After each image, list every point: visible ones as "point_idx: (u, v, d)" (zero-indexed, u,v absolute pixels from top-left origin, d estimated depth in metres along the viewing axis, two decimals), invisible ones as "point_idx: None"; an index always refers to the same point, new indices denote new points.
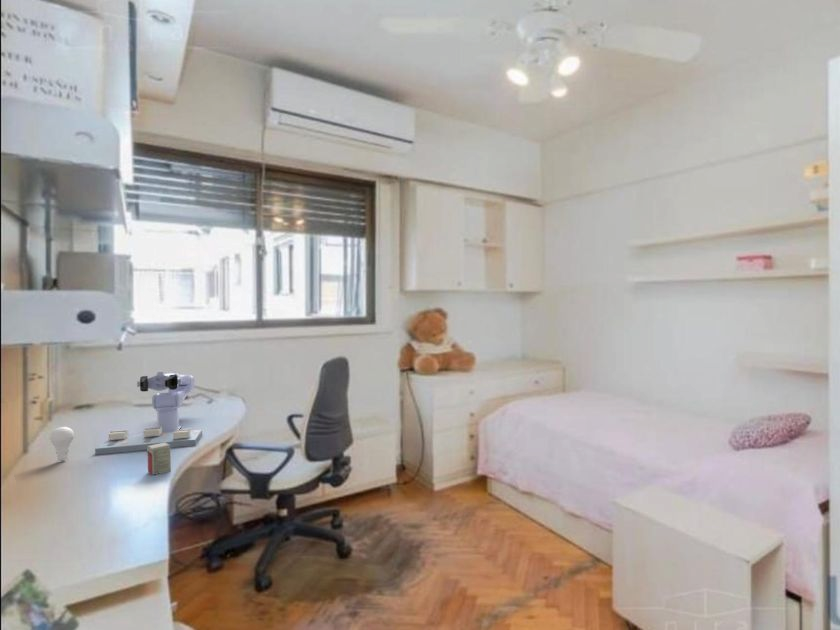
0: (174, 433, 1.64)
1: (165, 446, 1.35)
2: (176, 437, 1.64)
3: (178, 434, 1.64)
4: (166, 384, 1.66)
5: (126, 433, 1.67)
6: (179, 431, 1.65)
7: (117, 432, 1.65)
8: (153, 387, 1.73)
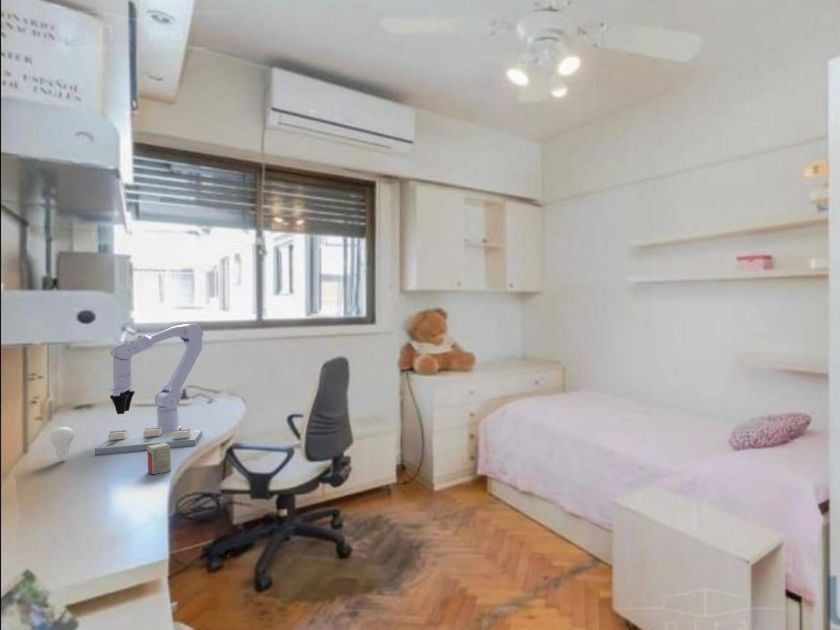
0: (174, 433, 1.64)
1: (165, 446, 1.35)
2: (176, 437, 1.64)
3: (178, 434, 1.64)
4: (122, 413, 1.69)
5: (126, 433, 1.67)
6: (179, 431, 1.65)
7: (117, 432, 1.65)
8: None
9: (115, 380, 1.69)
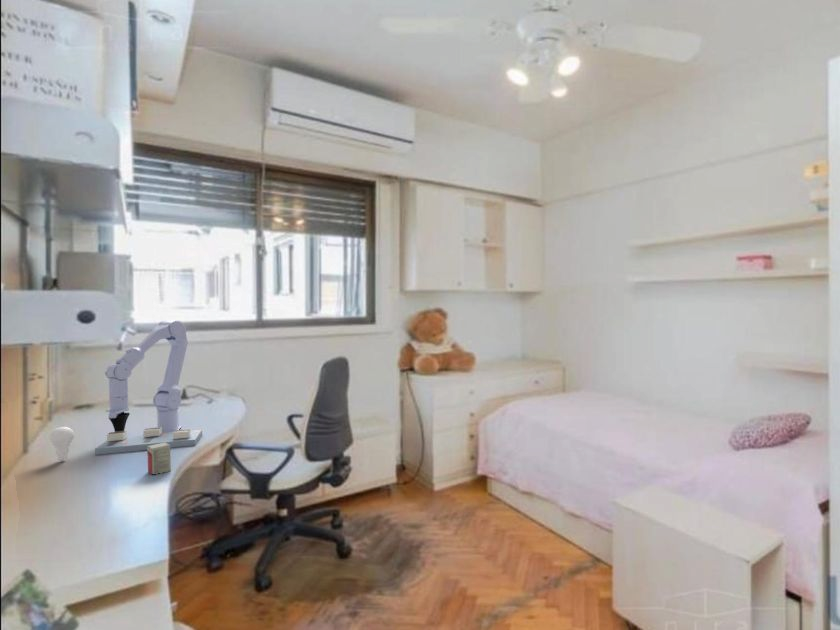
0: (174, 433, 1.64)
1: (165, 446, 1.35)
2: (176, 437, 1.64)
3: (178, 434, 1.64)
4: None
5: (125, 434, 1.66)
6: (179, 431, 1.65)
7: (115, 433, 1.64)
8: None
9: (111, 401, 1.65)
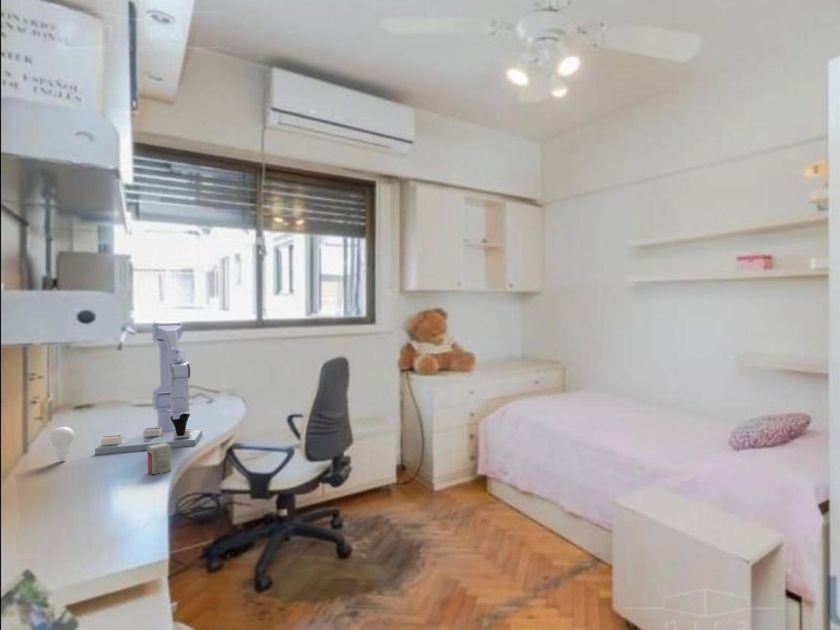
0: (175, 432, 1.65)
1: (165, 446, 1.35)
2: (177, 436, 1.65)
3: None
4: (182, 435, 1.64)
5: (120, 438, 1.60)
6: None
7: (110, 437, 1.59)
8: None
9: (173, 402, 1.61)
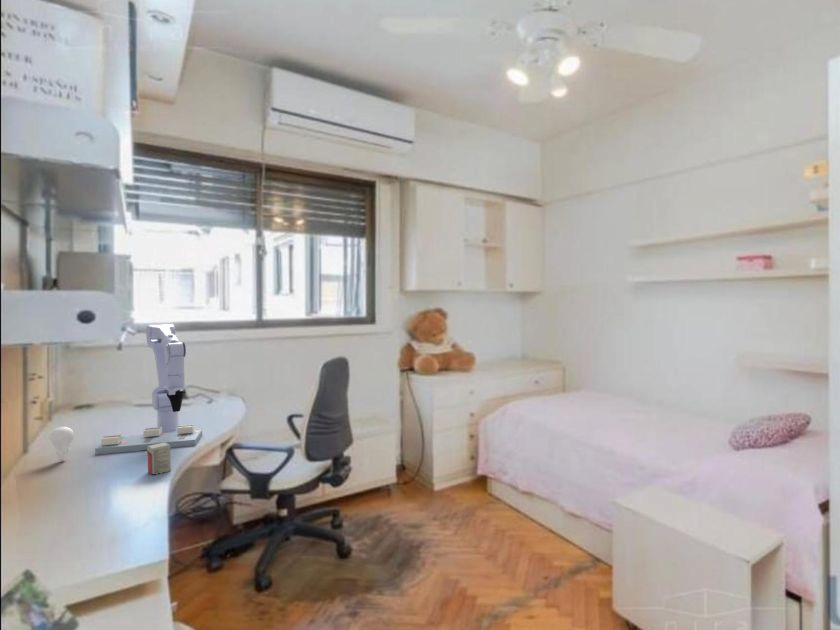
0: (178, 428, 1.70)
1: (165, 446, 1.35)
2: (180, 432, 1.71)
3: (182, 429, 1.71)
4: (177, 411, 1.72)
5: (120, 438, 1.60)
6: (183, 426, 1.72)
7: (110, 437, 1.59)
8: None
9: (169, 379, 1.69)
